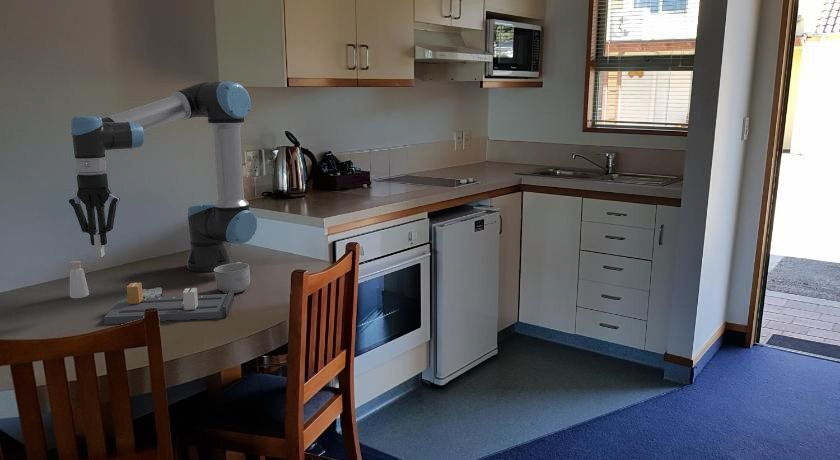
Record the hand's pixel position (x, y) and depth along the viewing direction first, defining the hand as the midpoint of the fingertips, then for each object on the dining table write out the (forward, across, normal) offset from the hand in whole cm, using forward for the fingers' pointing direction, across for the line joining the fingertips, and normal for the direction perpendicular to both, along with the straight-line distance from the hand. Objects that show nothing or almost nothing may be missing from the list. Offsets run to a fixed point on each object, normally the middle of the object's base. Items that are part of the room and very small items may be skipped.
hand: (100, 256), depth 182 cm
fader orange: (+14, +8, 0) cm, 16 cm away
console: (+16, +19, -4) cm, 25 cm away
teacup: (+16, +34, +15) cm, 41 cm away
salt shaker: (+16, -13, +16) cm, 26 cm away
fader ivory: (+14, +25, -8) cm, 30 cm away
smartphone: (+17, +9, +11) cm, 22 cm away
